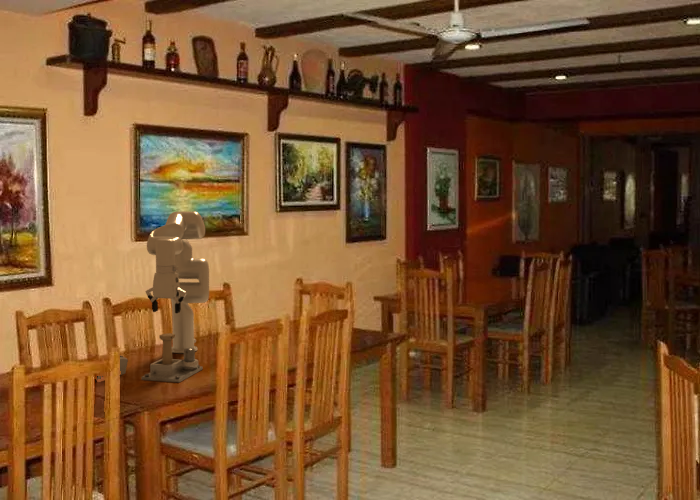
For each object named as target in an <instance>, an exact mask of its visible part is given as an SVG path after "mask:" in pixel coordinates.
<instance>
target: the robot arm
mask: <svg viewBox="0 0 700 500" xmlns="http://www.w3.org/2000/svg"><path fill="white" fill-rule="evenodd" d="M205 235H206V226H205V222H204V220H203V218H202V216H201V214H200V213H198V212H197V211H187V210H186V211H185V210H184V211H181V210H180V211H173V212H171V213H170V214H169V215H168V217H167V220H166V223H165V224H164V225H162V226H160V227H157V228H155V229H154V230H152V231H151V232H150V234H149V235H148V238H147V242H146V250H147V253H148V254H150V255H153V256H155V272H154V274H153V281H152V287H151V288H149V289H147V290H145V294H146V296H147V299H149V301H150V303H151V310H152V312H153V313H156V312H158V311H159V305H158V304H159V302H158V301H157V300H158V299H170V300H171V301H170V302H171V310H172V315H171V316H172V318H171V319H172V334H175V338H173V339H172V354H184V349H185V348H195V352H197V351H198V347H197V346H195V343H196V342H197V339H196V338H195V328H194V327H195V326H194V325H195V322H194V321H195V318H194V315H195V314H194V310H193V308H192V307H191V306H190V305H189V304H205V303H207V302H208V301H209V298H210V268H209V267H210V266H209V262H208V260H207V259H205V258H202V257H201V258H196V257H195V258H194V257H193V246H192V244H191V243H190V242H189V240H201V239H203V238H205ZM180 280H198V282H197V281H193V282H192V281H180Z"/></svg>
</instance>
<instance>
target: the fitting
mask: <svg viewBox="0 0 700 500" xmlns="http://www.w3.org/2000/svg"><path fill="white" fill-rule="evenodd" d="M195 354H196V351H195V348H185V349H184V353H183V359H175V358H172V364H171V365H166V364H162V358H160V359H158V360H156V361H154V362H152V363H150V365H149V366H150V367H149V369H150V371H149V372H148V373H144V375H143V376H141V381H153V382H154V381H155V382H167V383H181V382H182V381H184V380H187V379H188V378H190V377H191V376H193V375H195V374H197V373H199V372H200V371H202V370H203V366H201V365H200V364H199V360H198V359H196V357H195V356H196V355H195Z"/></svg>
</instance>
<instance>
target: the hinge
mask: <svg viewBox="0 0 700 500" xmlns="http://www.w3.org/2000/svg"><path fill="white" fill-rule="evenodd" d="M119 355H120V354H119ZM128 362H129V360H128V358H127V357H126V356H124V355H120V371H121V375H120V376H122V375H124V374H126V373H127V372H126V371H127V367H128ZM102 377H103V376H102ZM98 379H101V376H97V380H98Z"/></svg>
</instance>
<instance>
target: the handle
mask: <svg viewBox="0 0 700 500" xmlns="http://www.w3.org/2000/svg"><path fill="white" fill-rule="evenodd" d="M173 338H175V334H173V333H169V332H168V333H163V334H159V340H161V341H162V353H161V354H162V355H161V357H162V358H161V359H162V364H166V365H171V364H172V359H173V352H172V347H173Z"/></svg>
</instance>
